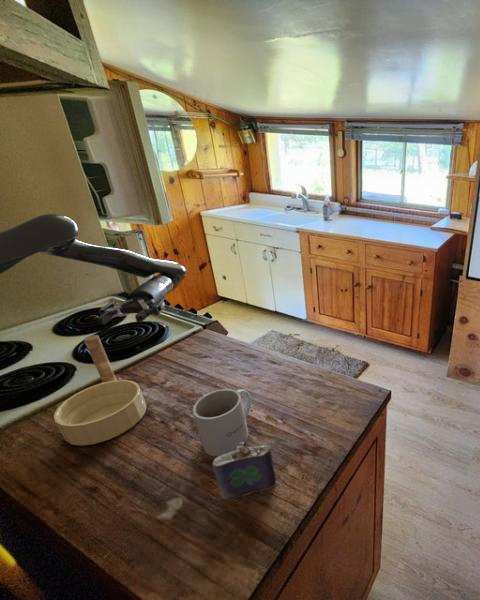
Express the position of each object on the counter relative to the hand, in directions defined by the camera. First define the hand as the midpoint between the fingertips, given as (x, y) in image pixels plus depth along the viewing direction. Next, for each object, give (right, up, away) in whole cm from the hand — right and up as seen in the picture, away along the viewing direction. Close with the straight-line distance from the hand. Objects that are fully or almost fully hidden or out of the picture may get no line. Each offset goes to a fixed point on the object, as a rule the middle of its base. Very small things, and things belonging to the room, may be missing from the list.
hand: (119, 320), depth 87 cm
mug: (+39, -24, -16) cm, 49 cm away
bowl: (+10, -22, -15) cm, 28 cm away
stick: (+2, -17, -4) cm, 17 cm away
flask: (+48, -30, -27) cm, 62 cm away
